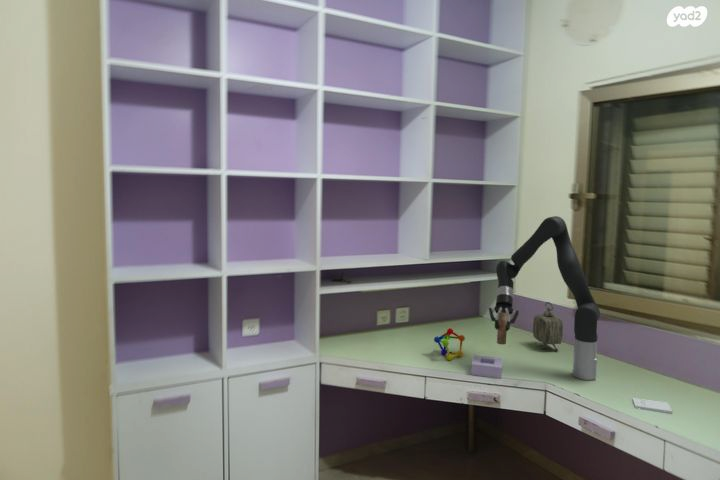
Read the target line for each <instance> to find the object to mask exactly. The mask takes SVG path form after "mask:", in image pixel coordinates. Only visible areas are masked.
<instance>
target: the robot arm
mask: <svg viewBox="0 0 720 480" xmlns="http://www.w3.org/2000/svg"><path fill="white" fill-rule="evenodd" d="M551 239H552V240H553V244H554V246H555V249H556V261H557V262H556V263H557V267H558V270H559V273H560V275H561V278H562V280H563V281H564V283H565V285H566V287H567V288H568V289H569V290H570V292H571V293H572V295H573V298H574V299H575V300H574V301H575V304H576V306H577V309H576V310H575V313H574V321H573V323H574V327H573V333H574V344H573V345H574V346H573V358H572V359H573V360H572V361H573V362H572V377H575V378H576V379H580V380H582V381H583V380H586V381H593V380H595V381H596V379H597V378H596V377H597V366H598V365H597V364H598V358H597V350H598V336H599V335H598V333H597V331H598V320H600V317H601V311H600V308H599V306H598V305H597V303H596V301H595V298H594V297H593V295H592V293H591V291H590V287H589V285H588V281H587V279H586V276H585V274H584V270H583V267H582V265H581V262H580V260H579V258H578V256H577V253H576V251H575V250H576V249H574V246H573V244H572V240H571V238H570V234H569V230H568V226H567V224H566V221H565V220H564V219H563V217H560V216H557V215H556V216H549V217H547V218H545V219H543V220H542V222H541V223H540V224H539V226H538V227H537V229H536V230H535V231H534V233H533V234H532V235H531V236H530V237H529V238H527V240H526V241H525V242H524V243H523V244H522V245H521V246H520V247H519V248H518V249H517V250H516V251H515V252H513V254H512V255H511V257H510V259H511V260H510V261H512V263H510V262H508V260H500V261H499V262H498V263H497V264H496V268H495V273H496V278H497V281H498V284H497V292H496V300H495V306H494V307H493V308H492V307H489V308H488V313H489V317H490V320H491V322H494V329H495V330H497V331H498V316H499V313H500V312H504V313H507V314H508V318H507V329H506V331H507V332H508V331H509V330H510V329H511V324H515V322H516V321H517V318H518V316H519V315H520V312H519V310H515V309H514V308H513V304H514V303H513V302H514V281H513V279H515V278H516V277H518V274H519V272H520V271H521V269H522V268H523V266H524V265H525V264H526V263H527V262H528V261H529V260H530V259H531V258H532V257H534V255H535V253H536V252H537V251H538V250H539V248H540V247H541V246H542V245H543V244H545V243H546V242H547V241H550V240H551ZM494 313H496V316H494ZM511 314H512V315H513V316H512V318H511Z"/></svg>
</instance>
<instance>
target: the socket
mask: <svg viewBox="0 0 720 480" xmlns="http://www.w3.org/2000/svg"><path fill="white" fill-rule="evenodd" d="M502 370H503V357H495V356H489V355H488V356H487V355H479V354H474V355H473V359H472V362H471V370H470V371H471V374H472V376H479V377H486V378H494V379H502Z"/></svg>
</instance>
